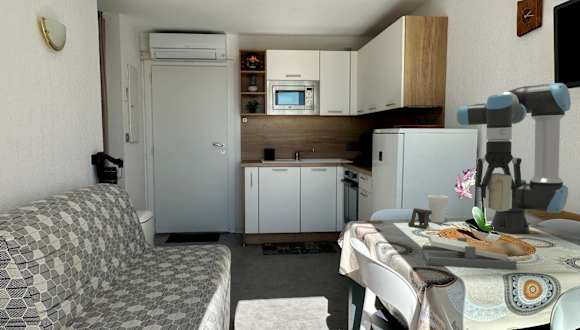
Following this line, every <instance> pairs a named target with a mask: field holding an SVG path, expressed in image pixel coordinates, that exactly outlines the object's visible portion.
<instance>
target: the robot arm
mask: <svg viewBox="0 0 580 330" xmlns="http://www.w3.org/2000/svg"><path fill="white" fill-rule="evenodd" d="M571 103H572V102H571V95H570V90H569V88H568V86H567V85H566V84H564V83H563V82H555V83H544V84H543V83H542V84H536V85H535V84H534V85H529V86H528V85H526V86H525V85H524V86H519V87H516V88H514V89H513V88H512V89H510V90H508V91H505V92H502V93H500V94H498V93H497V94H492V95H489V96H488V97H487V100H485V101H482V102H479V103H476V104H471V105H468V104H467V105H461V106H459V108H458V109H457V110H456V121H457V123H458V124H459V125H460V126H475V125H476V126H478V125H479V126H480V125H486V135H485V137H486V138H485V140H487V141H486V142H485V155H484V157H476V159H475V162H476V165H477V166H476V173H475V181H474V186H475V187H477V188H480V197H481V198H482V199H483V208H485V209H489V208H488V200H489V189H487V185H488V182H489V180H490V177H491V175H492V173H494V170H495V169H499V168H500V169H502V171H503V174H506V175H510V176H512V173H511V171H510V170H511V169H510V166H509V164H511V163H512V164H513V166H512V167H513V177H514V178H513V177H512V184H511V194H510V203H509V210H508V211H501V212H498V211H496V210H495V212H494V216H493V218H492V221H491V223H490V226H491V225H493V227H494V230H493V231H496V232H499V233H504V234H511V235H512V234H513V235H514V234H516V235H521V234H522V235H523V234H524V235H525V234H529V233H530V226H529V223H528V219H527V217H526V210H529V211H535V212H536V211H537V212H545V213H554V214H556V213H561V212H562V211H563V210H564V208H565V207H566V204H567V201H568V197H569V187H568V186H566V185H564V182H563V180H562V178H560V175H559V173H560V171H559V169H560V134H561V120H562V119H563V118H564V117H565V115H566V114H565V112H567V111H570V109H571V105H572V104H571ZM527 114H530V115H531V116H530V118H532V119H533V120H534V122H535V124H534V133H535V134H534V170H533V172H534V173H533V174H534V175H533V177H532V178H531V179H530V180H529V183H527V180H526V179H522V173H521V164H522V160H523V159H522V158H520V157H513V155H512V141H510V140H512V136H513V135H512V133H513V124H514V125H515V124H518V123H519V124H520V123H522V121H524V120H525V118H526V116H527ZM485 162H486V163H487V164H488V165H487V168H486V171H485V174H484V176H483V171H484V170H483V169H484V164H485ZM482 178H483V179H482Z"/></svg>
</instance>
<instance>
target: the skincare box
mask: <svg viewBox="0 0 580 330" xmlns="http://www.w3.org/2000/svg"><path fill="white" fill-rule="evenodd" d="M512 178H513V175H511V176H510V175H506V174H504V173H500V172H492V175H491V177H490V180H489V182H488V185H487V187H486V188H487V189H489V200H488V208H487V209H491V210H494V211H495V212H496V211H498V212H501V211H508V210H509V203H510V194H511V184H512Z"/></svg>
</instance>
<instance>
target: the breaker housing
mask: <svg viewBox="0 0 580 330" xmlns="http://www.w3.org/2000/svg"><path fill="white" fill-rule="evenodd" d="M456 240H458V241H463V242H468V238H467V237H459V236H458V237H457V238H456ZM421 248H422V249H421V252H422V254H423V256H424V258H425V260H426V262H427V264H428V265H432V266H447V267H449V266H450V267H464V268H465V267H467V268H483V269H484V268H485V269H502V270H503V269H505V270H517V261H515V260H510V259H509V258H508V259H507V261H505V260H500V259H495V258H490V257H485V256H480V255H475V251H476V247H475V246H465V252H460V251H456V250H451V249H446V248H441V247H436V246H432V245H428V244H427V245H422V247H421ZM501 250H502V249H501Z"/></svg>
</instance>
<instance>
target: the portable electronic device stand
mask: <svg viewBox="0 0 580 330" xmlns="http://www.w3.org/2000/svg"><path fill="white" fill-rule="evenodd" d="M431 214H432V211H431V210H430V209H425V208H418V207H417V208H415V207H414V208H413V209H412V214H411V219H410V221H408V222H407V223H408V225H407V226H408V227H411V228H417V229H421V230H427V228H428V227H429V226H430V224H429V219H430V215H431ZM416 217H417V219H418V224H415V221H416Z"/></svg>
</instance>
